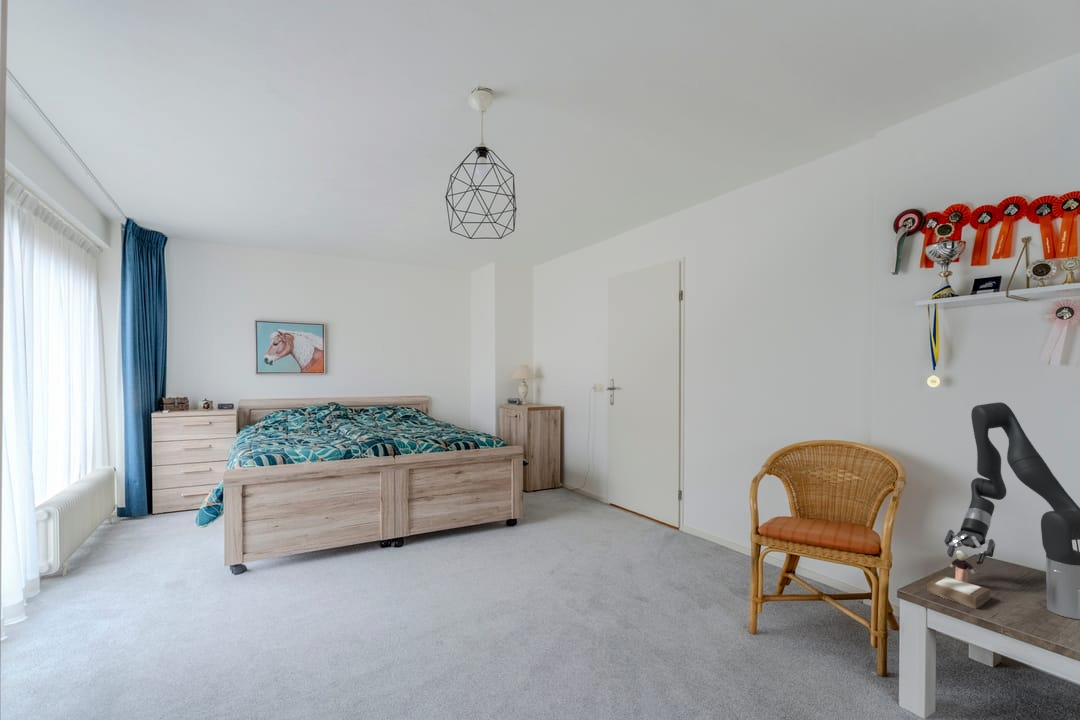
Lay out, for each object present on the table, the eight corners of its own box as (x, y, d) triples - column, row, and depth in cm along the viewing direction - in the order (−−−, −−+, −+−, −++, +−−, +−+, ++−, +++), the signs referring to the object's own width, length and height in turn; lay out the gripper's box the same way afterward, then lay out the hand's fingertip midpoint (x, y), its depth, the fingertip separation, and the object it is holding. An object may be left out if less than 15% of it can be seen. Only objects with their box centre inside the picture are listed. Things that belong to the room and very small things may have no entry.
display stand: (990, 599, 179) (989, 588, 179) (975, 608, 173) (975, 596, 173) (942, 585, 191) (942, 574, 191) (927, 593, 185) (926, 581, 185)
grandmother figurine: (947, 583, 193) (947, 549, 193) (951, 580, 195) (950, 546, 195) (974, 590, 186) (973, 555, 186) (977, 587, 189) (976, 552, 189)
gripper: (950, 513, 202) (937, 548, 196) (997, 522, 190) (984, 560, 184) (956, 524, 205) (944, 559, 199) (1003, 534, 193) (991, 571, 187)
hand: (963, 559), depth 192 cm, fingers open, 8 cm apart
